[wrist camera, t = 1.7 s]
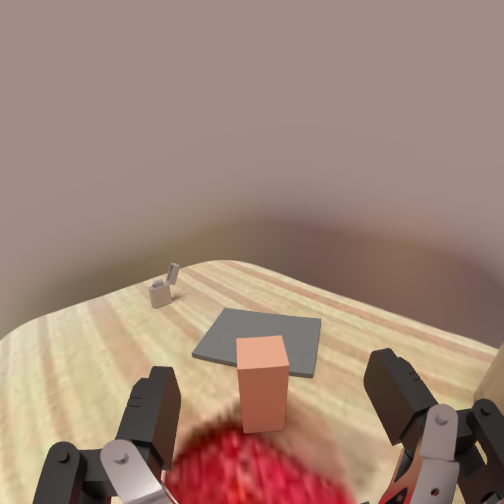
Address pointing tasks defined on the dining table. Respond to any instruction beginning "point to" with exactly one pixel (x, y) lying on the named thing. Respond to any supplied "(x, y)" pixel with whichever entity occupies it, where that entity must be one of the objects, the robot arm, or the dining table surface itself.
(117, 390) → the dining table surface
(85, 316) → the dining table surface
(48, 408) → the dining table surface
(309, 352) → the mat
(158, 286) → the lighter
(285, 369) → the block
